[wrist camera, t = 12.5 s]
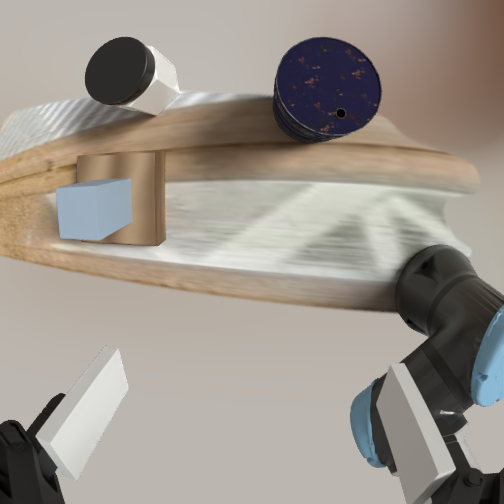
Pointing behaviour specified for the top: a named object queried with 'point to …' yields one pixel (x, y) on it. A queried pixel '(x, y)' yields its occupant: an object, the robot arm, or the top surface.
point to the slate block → (94, 208)
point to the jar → (131, 76)
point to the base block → (133, 192)
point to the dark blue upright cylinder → (325, 90)
